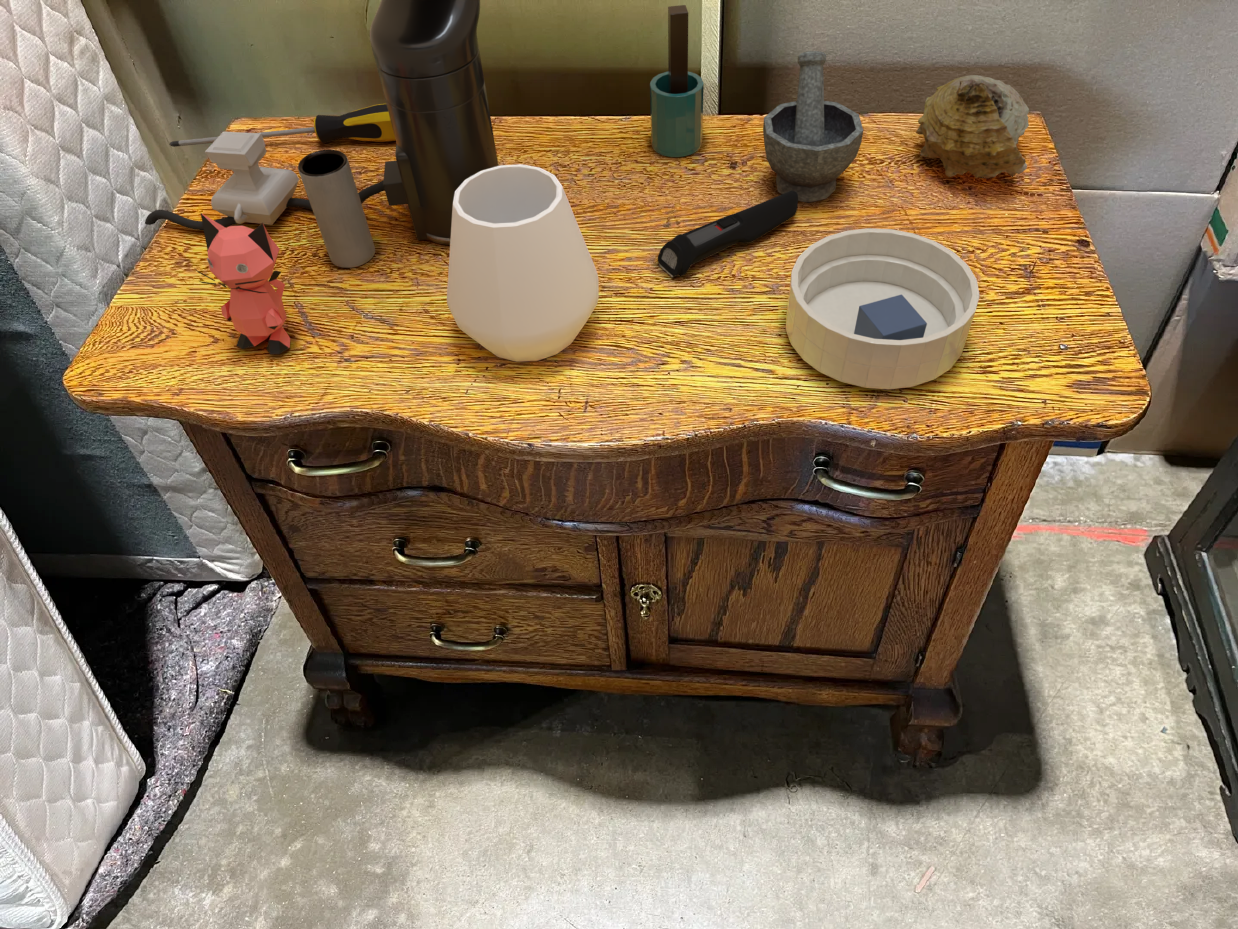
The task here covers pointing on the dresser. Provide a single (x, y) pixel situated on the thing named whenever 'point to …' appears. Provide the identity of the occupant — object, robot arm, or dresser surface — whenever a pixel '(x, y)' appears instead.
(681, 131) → the cup
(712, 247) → the electric trimmer
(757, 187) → the dresser surface
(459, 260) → the cup
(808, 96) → the mortar and pestle
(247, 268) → the cat figurine
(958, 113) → the seashell
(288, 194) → the stamp
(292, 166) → the dresser surface
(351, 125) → the screwdriver
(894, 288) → the bowl
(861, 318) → the block
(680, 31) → the stick
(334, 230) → the grey hollow cylinder
